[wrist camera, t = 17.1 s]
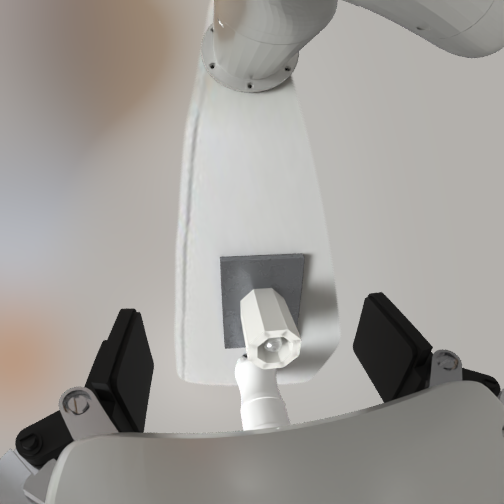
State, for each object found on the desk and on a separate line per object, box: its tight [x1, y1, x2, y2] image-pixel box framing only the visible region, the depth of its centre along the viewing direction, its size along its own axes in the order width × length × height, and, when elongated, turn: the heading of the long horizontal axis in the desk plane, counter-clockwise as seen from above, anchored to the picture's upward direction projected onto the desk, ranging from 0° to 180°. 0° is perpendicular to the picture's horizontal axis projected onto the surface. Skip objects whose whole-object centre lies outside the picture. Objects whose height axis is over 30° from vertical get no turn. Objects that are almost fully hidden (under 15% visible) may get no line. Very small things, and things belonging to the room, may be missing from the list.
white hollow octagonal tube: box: [240, 288, 302, 370], centre depth 38 cm, size 7×7×10 cm
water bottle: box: [235, 356, 290, 431], centre depth 37 cm, size 7×7×25 cm
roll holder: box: [220, 254, 304, 352], centre depth 39 cm, size 16×12×11 cm
